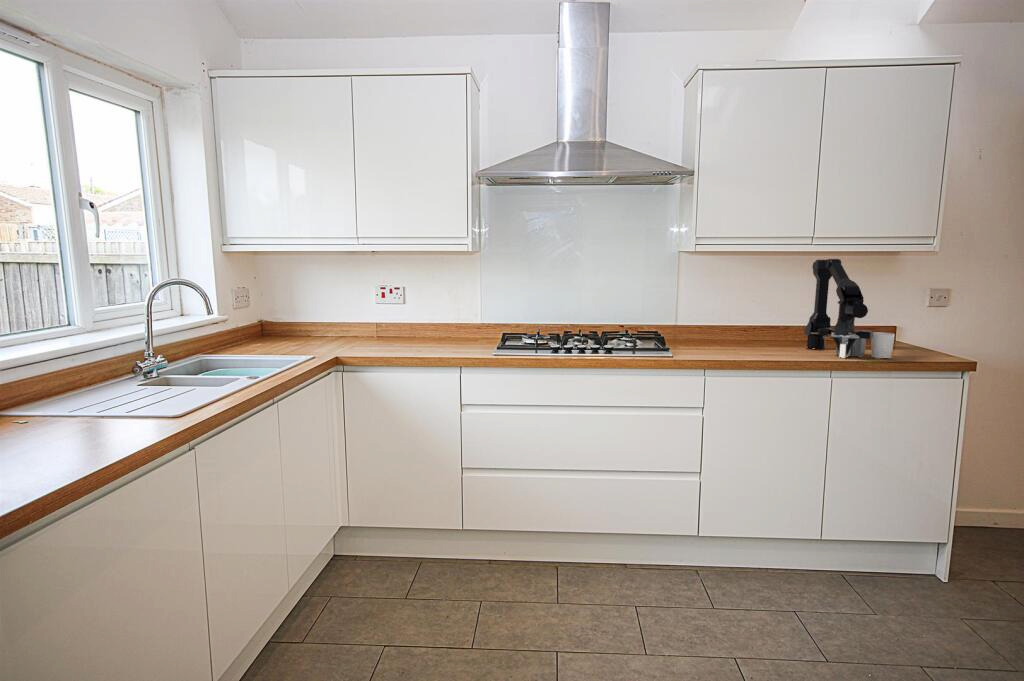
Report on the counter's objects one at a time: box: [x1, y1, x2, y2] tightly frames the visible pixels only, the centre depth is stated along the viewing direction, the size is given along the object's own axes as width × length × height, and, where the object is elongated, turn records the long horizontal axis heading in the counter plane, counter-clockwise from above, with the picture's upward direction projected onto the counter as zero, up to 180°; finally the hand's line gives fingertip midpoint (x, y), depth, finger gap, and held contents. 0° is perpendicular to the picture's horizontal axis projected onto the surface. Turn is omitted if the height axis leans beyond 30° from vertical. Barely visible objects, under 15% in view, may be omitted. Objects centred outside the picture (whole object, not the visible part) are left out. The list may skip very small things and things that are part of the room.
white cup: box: [870, 331, 896, 359], centre depth 236 cm, size 8×8×10 cm
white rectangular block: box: [838, 341, 852, 359], centre depth 239 cm, size 15×2×6 cm, turn 137°
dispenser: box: [835, 335, 867, 358], centre depth 243 cm, size 8×9×9 cm
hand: (843, 354), depth 235 cm, fingers closed on white rectangular block, 2 cm apart
